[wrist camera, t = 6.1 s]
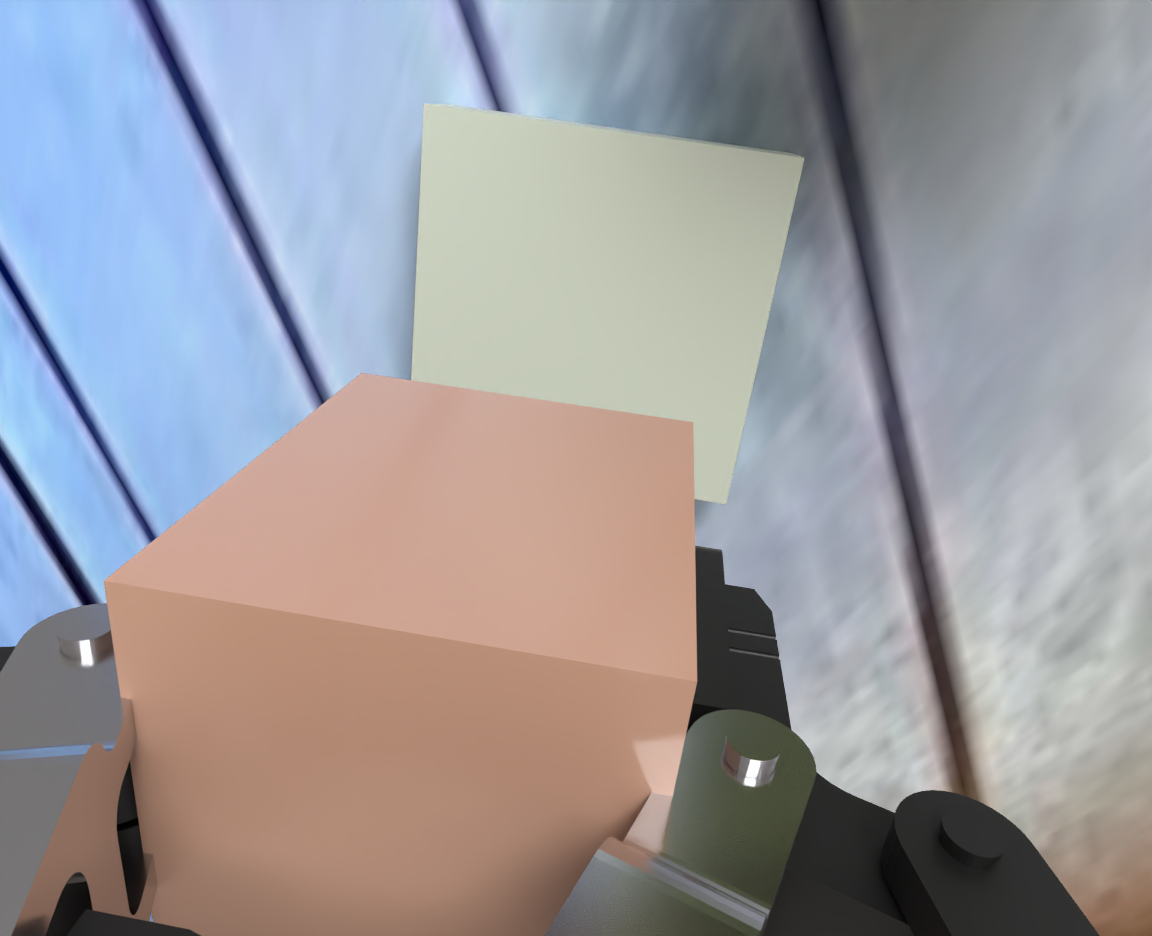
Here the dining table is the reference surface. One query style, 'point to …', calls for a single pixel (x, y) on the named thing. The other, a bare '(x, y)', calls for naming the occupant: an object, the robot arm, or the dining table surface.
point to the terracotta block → (411, 664)
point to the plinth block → (600, 269)
